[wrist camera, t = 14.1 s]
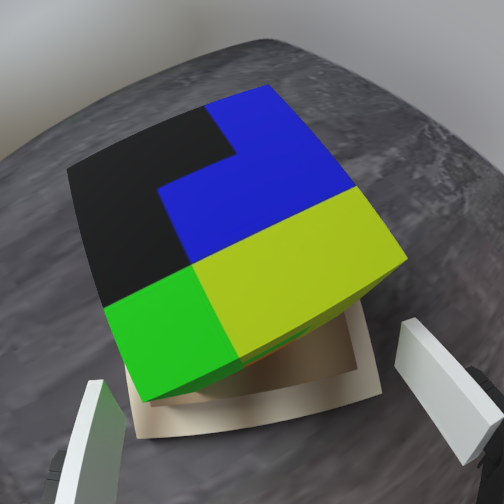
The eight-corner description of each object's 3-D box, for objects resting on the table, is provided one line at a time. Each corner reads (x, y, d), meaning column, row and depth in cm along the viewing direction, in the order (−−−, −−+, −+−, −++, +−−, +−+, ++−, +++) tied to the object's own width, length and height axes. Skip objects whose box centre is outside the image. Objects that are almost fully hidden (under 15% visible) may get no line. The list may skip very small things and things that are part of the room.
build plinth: (143, 435, 20) (122, 445, 16) (122, 224, 27) (103, 198, 23) (374, 392, 22) (399, 394, 18) (319, 191, 28) (329, 160, 24)
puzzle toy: (262, 194, 23) (268, 84, 14) (337, 315, 20) (408, 258, 10) (134, 255, 21) (66, 168, 12) (195, 391, 18) (142, 402, 9)
